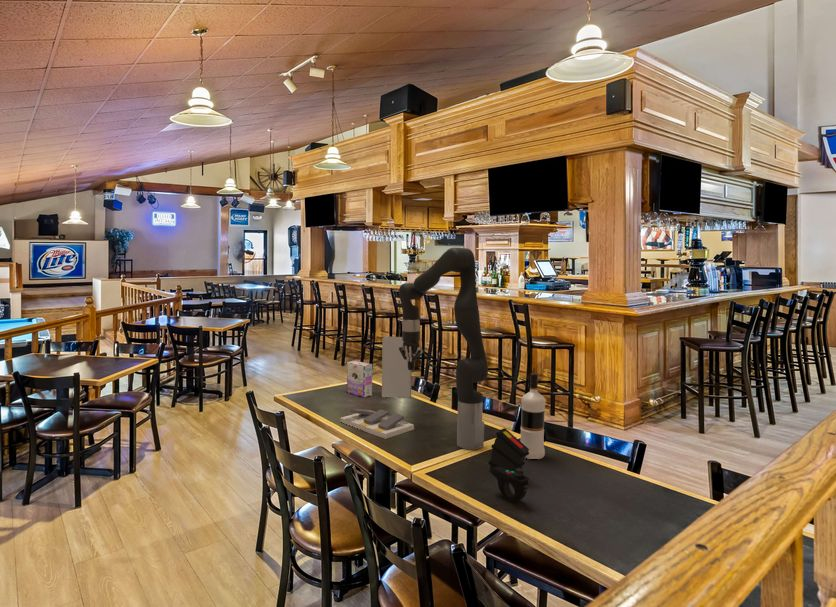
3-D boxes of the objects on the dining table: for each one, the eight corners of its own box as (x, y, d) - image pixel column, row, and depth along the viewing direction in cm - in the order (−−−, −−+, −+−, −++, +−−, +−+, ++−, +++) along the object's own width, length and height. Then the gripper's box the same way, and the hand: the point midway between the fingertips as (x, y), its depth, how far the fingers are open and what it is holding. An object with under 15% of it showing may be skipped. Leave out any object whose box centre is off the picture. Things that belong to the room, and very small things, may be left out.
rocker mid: (389, 414, 217) (388, 411, 217) (371, 424, 210) (371, 421, 210) (381, 411, 221) (380, 409, 220) (363, 421, 214) (363, 418, 214)
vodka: (512, 453, 187) (515, 372, 185) (531, 449, 192) (534, 369, 190) (531, 462, 180) (534, 377, 177) (550, 457, 185) (553, 374, 182)
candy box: (372, 396, 262) (372, 364, 261) (363, 398, 258) (364, 365, 257) (355, 390, 272) (355, 360, 270) (346, 392, 267) (346, 361, 266)
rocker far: (374, 415, 224) (375, 412, 224) (357, 413, 216) (358, 410, 217) (367, 412, 227) (367, 409, 227) (350, 411, 220) (350, 408, 220)
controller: (520, 508, 146) (522, 474, 145) (488, 492, 156) (489, 460, 155) (530, 504, 149) (531, 470, 148) (498, 489, 159) (499, 457, 158)
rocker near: (404, 418, 211) (403, 415, 211) (386, 430, 204) (386, 427, 204) (395, 415, 215) (395, 413, 214) (378, 427, 208) (377, 424, 207)
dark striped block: (487, 461, 176) (504, 427, 170) (516, 488, 168) (535, 453, 162) (481, 464, 173) (497, 429, 168) (509, 492, 166) (528, 456, 160)
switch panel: (413, 429, 212) (414, 423, 212) (385, 438, 201) (385, 432, 200) (368, 414, 231) (368, 408, 231) (340, 422, 220) (340, 416, 219)
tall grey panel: (411, 395, 264) (412, 337, 261) (409, 398, 258) (410, 339, 256) (383, 394, 265) (384, 336, 263) (381, 397, 260) (382, 338, 257)
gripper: (428, 330, 219) (428, 370, 220) (405, 328, 228) (405, 366, 229) (416, 332, 214) (416, 373, 215) (393, 329, 222) (394, 369, 223)
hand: (411, 370), depth 222 cm, fingers closed
